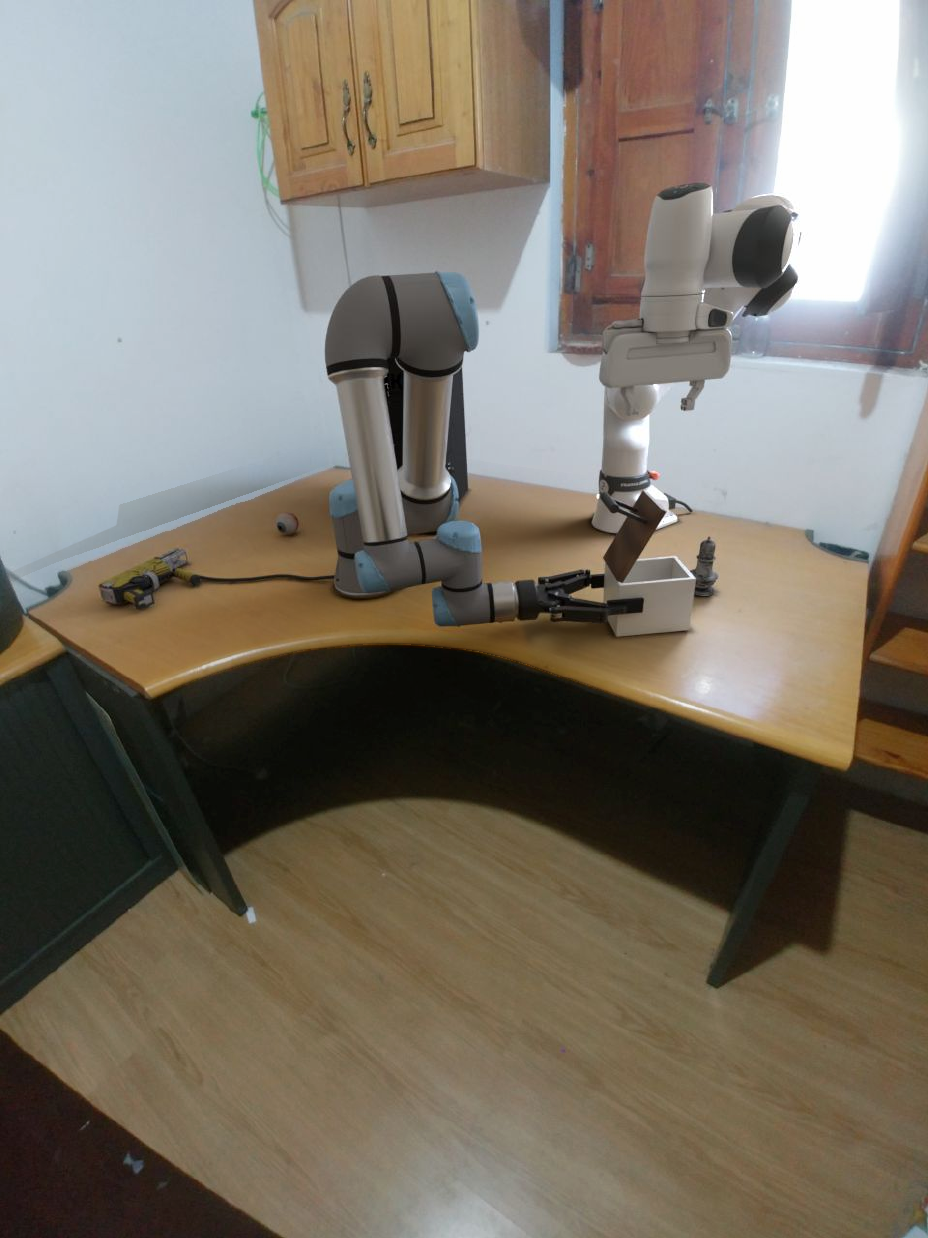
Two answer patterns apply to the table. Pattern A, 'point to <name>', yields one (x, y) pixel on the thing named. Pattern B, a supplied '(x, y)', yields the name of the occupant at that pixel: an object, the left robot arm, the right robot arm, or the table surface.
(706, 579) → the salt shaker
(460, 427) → the cardboard box
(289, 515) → the eyeball
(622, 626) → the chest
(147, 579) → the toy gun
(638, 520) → the lid
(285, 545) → the table surface
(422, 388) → the left robot arm
